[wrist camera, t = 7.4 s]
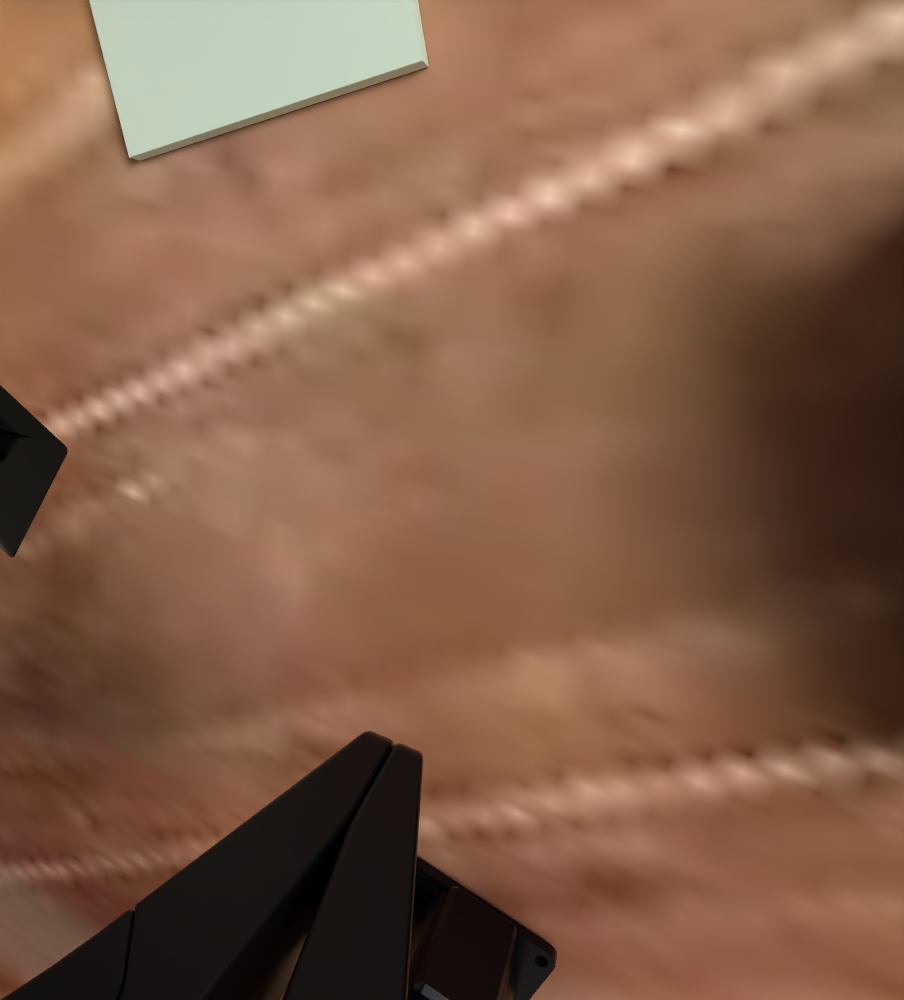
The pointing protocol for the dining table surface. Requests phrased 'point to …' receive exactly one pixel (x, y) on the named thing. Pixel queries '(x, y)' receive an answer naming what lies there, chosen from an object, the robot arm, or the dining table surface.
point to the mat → (244, 60)
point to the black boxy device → (23, 469)
